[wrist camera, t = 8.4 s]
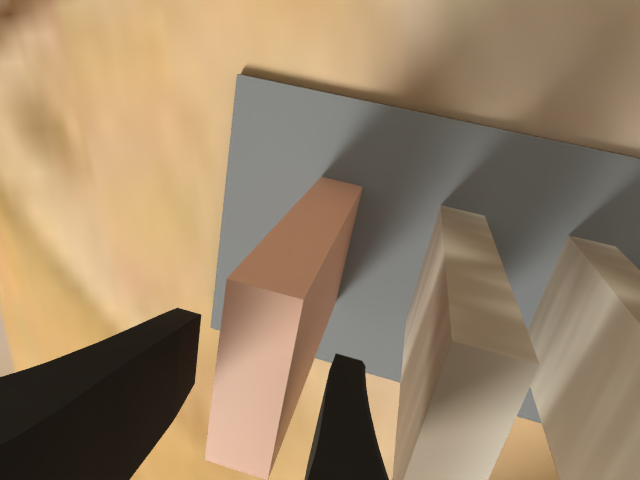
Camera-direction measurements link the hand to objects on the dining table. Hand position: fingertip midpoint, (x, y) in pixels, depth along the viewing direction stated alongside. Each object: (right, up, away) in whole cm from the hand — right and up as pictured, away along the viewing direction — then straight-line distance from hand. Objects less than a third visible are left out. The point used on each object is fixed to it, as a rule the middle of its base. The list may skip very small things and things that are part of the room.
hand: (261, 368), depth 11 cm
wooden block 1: (+6, +2, +7) cm, 9 cm away
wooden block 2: (+10, +1, +6) cm, 12 cm away
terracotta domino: (+2, +3, +7) cm, 8 cm away
